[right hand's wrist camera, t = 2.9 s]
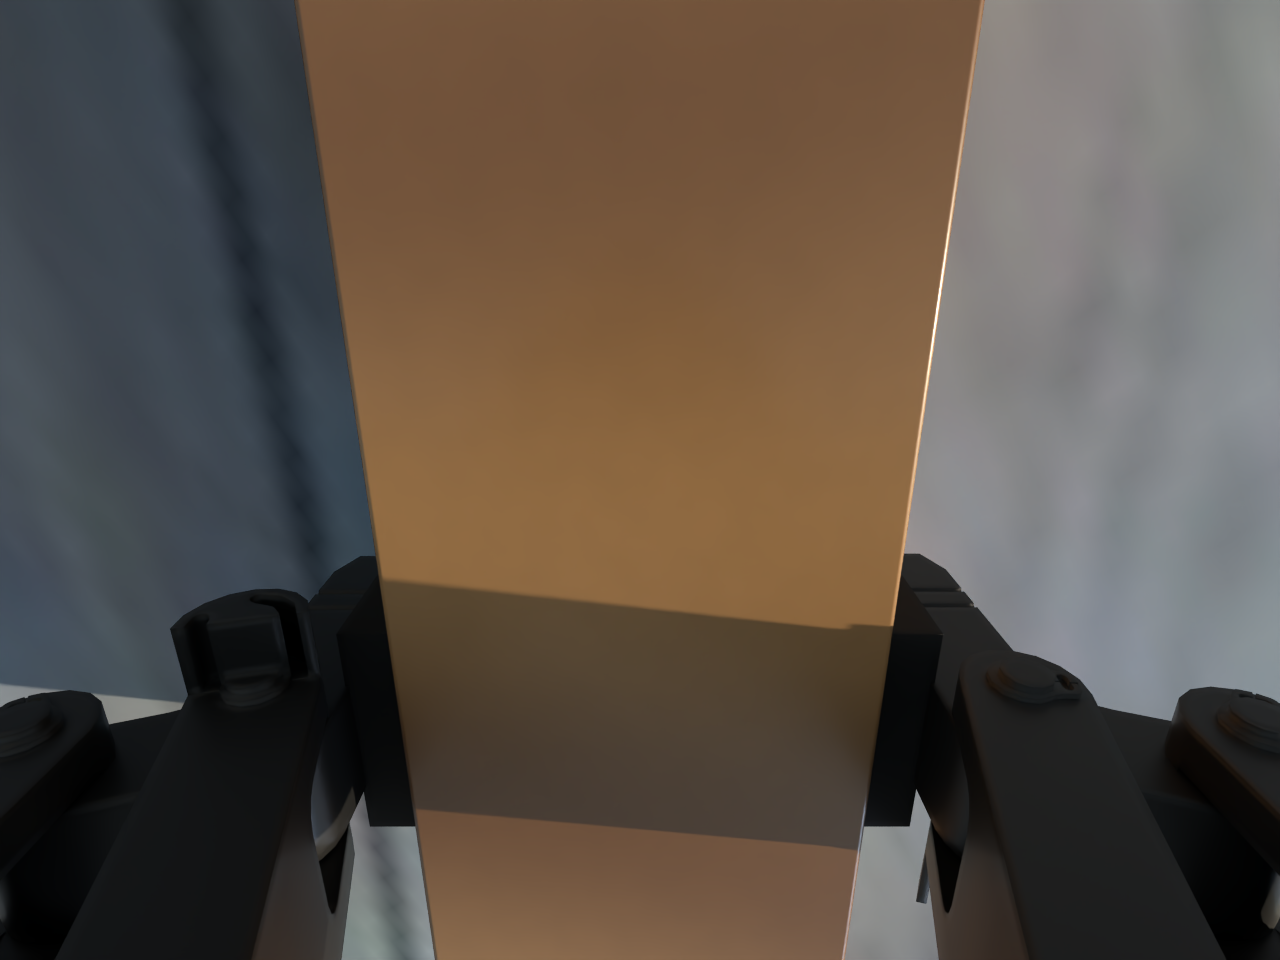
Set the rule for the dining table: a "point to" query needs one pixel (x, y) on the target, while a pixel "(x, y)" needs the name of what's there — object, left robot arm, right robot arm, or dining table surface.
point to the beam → (639, 439)
